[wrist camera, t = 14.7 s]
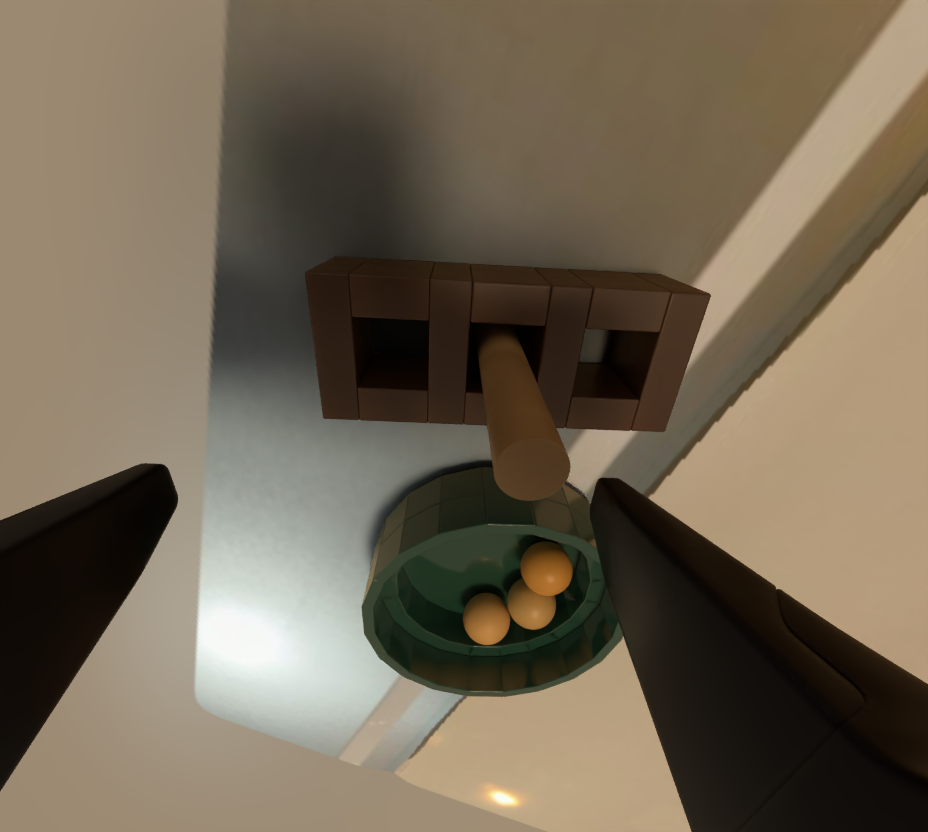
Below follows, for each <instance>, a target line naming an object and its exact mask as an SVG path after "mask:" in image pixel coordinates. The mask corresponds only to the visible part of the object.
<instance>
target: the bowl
mask: <svg viewBox="0 0 928 832" xmlns="http://www.w3.org/2000/svg"><path fill="white" fill-rule="evenodd" d="M590 506H591V505H590V504H589V502H588V501H587V500H586V499H585V498H584V497H582V496H581V495H579V494H578V493H577V492H575V491H574V490H572V489H571V488H570V487H568V486H567V485H565V484H564V485H563V486H562V487H561V488H560V489H559V490H558V491H557V492H555V493H554V494H552V495H550V496H548V497H546V498H543V499H539V500H532V501H526V500H519V499H515V498H513V497H511V496H509V495H507V494H506V493H504V492H503V491H502V490H501V489H500V488H499V486H498V485H497V483H496V481H495V478H494V471H493V467H482V468H481V467H478V468H474V469H470V470H465V471H461V472H456V473H452V474H447V475H443V476H440V477H438V478H437V479H435V480H433V481H431V482H429V483H427V484H425V485H424V486H422V487H420V488H418V489H416V490H414V491H413V492H411V493H409V495H407V496H406V497H405V499H404V500H403V501H402V502H401V503H400V504H399V505H398V506H397V507H396V508H395V509H394V510H393V511H392V512H391V513H390V514H389V515H388V517H387V518H386V519H385V522H384V525H383V527H382V530H381V532H380V535H379V537H378V540H377V543H376V546H375V551H374V555H373V560H372V564H371V568H370V573H369V577H368V581H367V586H366V590H365V594H364V599H363V603H362V616H363V626H364V634H365V636H366V638H367V639H368V641H369V642H370V644H371V646H372V647H373V649H374V651H375V652H376V654H377V655H378V657H379V658H380V659H381V660H382V661H384V662H385V663H386V664H387V665H389V666H390V667H391V668H393V669H394V670H395V671H396V672H398V673H399V674H400V675H401V676H404V677H405V678H407V679H410V680H412V681H415V682H417V683H419V684H422V685H424V686H426V687H429V688H431V689H434V690H439V691H444V692H449V693H454V694H459V695H464V696H492V697H503V696H504V697H506V696H512V695H519V694H525V693H531V692H537V691H541V690H544V689H547V688H549V687H552V686H555V685H558V684H561V683H563V682H566V681H569V680H572V679H574V678H576V677H577V676H579V675H581V674H582V673H584V672H585V671H587V670H589V669H590V668H592V667H594V666H595V665H597V664H598V663H600V662H601V661H603V659H604V658H605V657H606V656H607V655H608V654H609V653H610V652H611V651H612V650H613V649H614V647H615V646H616V645H617V644H618V643H619V642H620V641H621V640H622V638H623V633H622V631H621V628H620V625H619V622H618V619H617V616H616V613H615V611H614V608H613V605H612V602H611V599H610V596H609V593H608V590H607V587H606V584H605V580H604V576H603V572H602V568H601V564H600V559H599V555H598V551H597V546H596V542H595V537H594V533H593V528H592V524H591V520H590ZM543 541H547V542H552V543H555V544H557V545H559V546H560V547H561V548H563V549H564V550H565V551H566V553H567V554H568V555H569V557H570V560H571V562H572V568H573V573H572V578H571V581H570V583H569V585H568V587H567V588H566V589H565V590H564V591H562V592H561V593H559V594H557V595H554V596H555V600H556V610H555V614H554V616H553V618H552V620H551V621H550V622H549V623H548V624H547V625H546V626H545V627H543V628H540V629H535V630H532V629H526V628H524V627H522V626H520V625H519V624H517V623H516V622H515V621H514V619H513V618H512V617H511V615H510V625H509V629H508V631H507V633H506V635H505V636H504V638H503V639H502V640H500V641H499V642H497V643H495V644H492V645H482V644H479V643H477V642H475V641H474V640H473V639H471V638H470V636H469V635H468V634H467V632H466V630H465V627H464V623H463V613H464V609H465V607H466V605H467V603H468V602H469V600H470V599H471V598H472V597H474V596H475V595H477V594H480V593H492V594H495V595H497V596H498V597H500V598H501V599H502V600H503V601H504V602H505V604H506V606H507V608H508V605H507V597H508V593H509V590H510V588H511V587H512V585H513V584H514V583H515V582H516V581H517V580H519V579H521V578H523V577H522V574H521V567H520V566H521V559H522V557H523V554H524V553H525V551H526V550H527V549H528V548H529V547H530V546H531V545H533V544H535V543H538V542H543ZM509 614H510V613H509Z"/></svg>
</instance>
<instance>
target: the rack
mask: <svg viewBox="0 0 928 832" xmlns="http://www.w3.org/2000/svg"><path fill="white" fill-rule="evenodd" d="M305 277H306V285H307V293H308V301H309V309H310V317H311V325H312V333H313V341H314V349H315V357H316V365H317V373H318V381H319V389H320V397H321V405H322V413H323V418H324V419H346V420H359V419H360V420H367V421H392V422H417V423H427V422H428V423H443V424H463V423H464V424H468V425H487V419H486V412H485V404H484V397H483V389H482V382H481V374H480V367H479V359H478V358H468V347H469V331H470V321H471V322H472V323H490V324H510V325H526V330H525V338H524V345H523V351H524V354H525V356H526V358H527V361H528V363H529V365H530V368H531V370H532V372H533V375H534V377H535V379H536V382H537V384H538V386H539V389H540V391H541V394H542V396H543V398H544V401H545V403H546V405H547V408H548V410H549V412H550V415H551V417H552V419H553V422H554V424H555V426H556V428H565V427H566V428H572V429H597V430H622V431H630V430H632V431H652V432H664V431H665V430H666V427H667V424H668V421H669V418H670V415H671V412H672V409H673V406H674V403H675V400H676V397H677V394H678V391H679V388H680V385H681V382H682V379H683V376H684V373H685V371H686V368H687V365H688V362H689V359H690V356H691V353H692V350H693V347H694V344H695V341H696V338H697V335H698V332H699V329H700V326H701V323H702V320H703V317H704V315H705V312H706V309H707V306H708V303H709V300H710V297H711V295H710V294H709V293H707V292H704V291H702V290H699V289H697V288H694V287H692V286H689V285H687V284H684V283H682V282H679V281H676V280H674V279H671V278H669V277H666V276H664V275H659V274H641V273H626V272H608V271H590V270H572V269H568V270H566V269H552V268H534V269H533V268H532V267H516V266H498V265H481V264H471V265H469V264H465V263H448V262H430V261H412V260H394V259H376V258H370V259H369V258H358V257H340V256H335V257H333V258H331V259H329V260H328V261H326V262H324V263H322V264H320V265H318V266H316V267H314V268H312V269H310V270H308V271H306V272H305ZM373 318H385V319H405V320H425V321H428V320H429V356H422V355H401V354H379V353H374V334H373ZM585 328H586V329H603V330H617V332H616V336H615V340H614V344H613V348H612V352H611V357H610V361H609V365H607V364H590V363H578V361H579V356H580V351H581V346H582V342H583V337H584V332H585Z"/></svg>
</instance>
